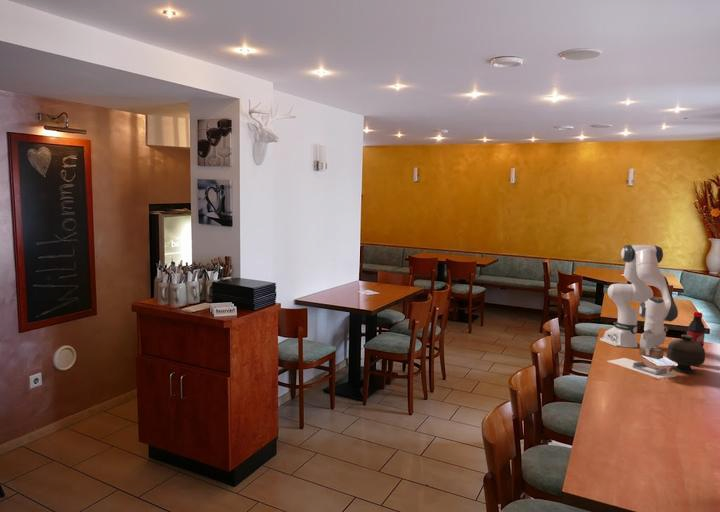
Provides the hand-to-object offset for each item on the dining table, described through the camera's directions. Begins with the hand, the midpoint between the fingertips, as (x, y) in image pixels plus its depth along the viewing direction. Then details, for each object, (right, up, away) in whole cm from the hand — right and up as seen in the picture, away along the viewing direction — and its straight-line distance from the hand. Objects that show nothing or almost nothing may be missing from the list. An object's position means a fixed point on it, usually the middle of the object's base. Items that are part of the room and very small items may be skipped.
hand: (651, 353), depth 281 cm
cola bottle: (+34, -10, +18) cm, 39 cm away
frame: (0, -1, 0) cm, 1 cm away
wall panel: (-3, -10, +6) cm, 11 cm away
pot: (+21, -11, +6) cm, 24 cm away
